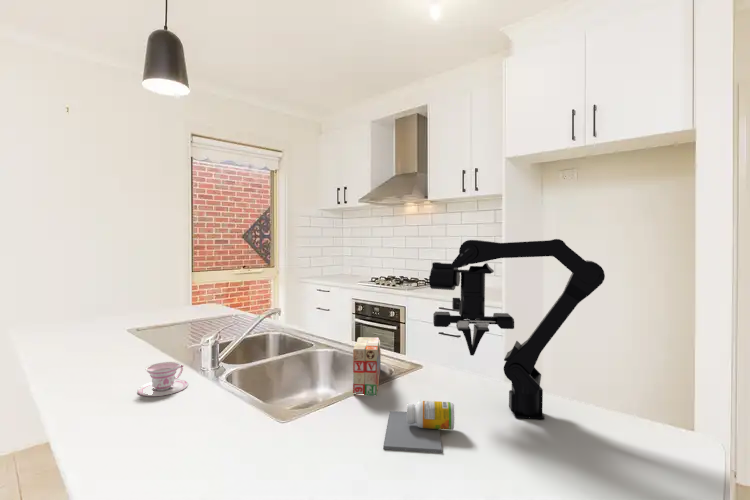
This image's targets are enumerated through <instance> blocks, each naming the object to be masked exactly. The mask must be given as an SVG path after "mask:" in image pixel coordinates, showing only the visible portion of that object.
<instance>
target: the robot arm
mask: <svg viewBox="0 0 750 500" xmlns="http://www.w3.org/2000/svg"><path fill="white" fill-rule="evenodd" d="M537 257H539V258H540V257H541V258H542V257H552V258H553V257H554V258H555V259H556V260H557V261H558V262H559V263H560V264H562V265H563V266H564V267H565V268H566V269H568V271H570V274H571V275H570V277H569V278H568V280H567V282H566V285H565V287H564V290H563V291H562V294H561V295H560V296H559V297H558V298H557V300H556V301H555V302H554V303H553V305H552V306H551V307H550V309H549V311H548V312H547V313H546V314H545V316H544V317H543V318H542V320H541V322H539V323H538V325H536V326H537V327H536V328H535V329H534V331H533V332H532V333H531V334H530V335H529V337H528V338H527V339H526V340H525V341H524V342H522V343H520V342H519V341H518V340H516V341H515V343H514V345H513V347H512V348H511V349H510V350H509V351H507V352H506V354H505V357H504V358H503V359H504V360H503V361H505V363H504V366H503V372H504V376H506V377H505V378H507V379H508V380H509V381H511V389H510V390H509V391H508V408H509V410H510V411H511V412H512V414H513V417H514V418H516V419H528V420H529V419H532V420H545V419H546V416H545V415H544V413H543V404H544V403H543V398H544V397H543V396H544V391H543V390H544V389H543V388H542V387H541V379H542V373H540V372H539V371H538V369H537V368H536V367H535V366H536V364H537V361H538V360H539V357H540V355H541V353H542V351H543V350H544V349H545V348H546V346H547V345H548V343H549V342H550V341H551V340H552V338H553V337H554V336H555V334H557V332H558V331H559V329H560V328H561V327H562V325H563V324H564V323H565V321H566V320H567V319H568V318H569V316H570V315H571V313H572V312H573V311H574V310H575V308H577V306H578V304H580V303H581V302H582V301H583V300H584V299H586V298H588V297H589V296H590V295H591V294H592V293H593V292H594V291H596V290H597V289H598V288H599V287H600V286H601V285H603V283H604V281H605V278H606V276H605V274H606V273H605V271H604V269H603V267H602V266H601V265H600V264H598V263H597V262H595V261H593V260H585V259H584V258H583V257H582V256H580V255H579V254H578V253H577V252H575V251H574V250H573V249H572V248H570V247H569V246H568V245H567V244H566V242H565V241H563V239H560V238H555V239H554V238H553V239H550V240H549V239H548V240H533V241H532V240H531V241H530V240H529V241H515V242H513V241H512V242H497V241H489V240H488V241H487V240H481V239H480V240H478V239H467V240H465V241H463V243H462V244H460V247H459V250H458V255H457V256H456V257H455V259H454V260H453V261H452V262H451V263H450V262H449V263H448V262H445V263H444V262H437V261H434V262H432V263H431V268H430V273H429V276H428V277H429V278H428V282H429V287H430V289H432V290H443V291H444V290H447V291H455V290H456V287H459V286H460V297H452V306H451V307H452V311H453V312H458V314H459V315H452V314H451V313H450V312H449V311H435V312H434V313H433V327H436V328H448V327H449V326H451V324H456V329H457V331H459V332H462V334H463V336H464V339H465V341H466V345H467V348H468V352H469V355H470V356H474V355H475V354H476V351H477V349H478V347H479V344H480V341H481V340H482V338H483V336H484V335H485V333H489V332H490V328H489V326H490V325H497V326H498V327H499V328H500V329H502V330H505V329H506V330H514V329H515V318H513V316H511V315H510V314H509V313H508V312H506V313H505V312H504V313H503V312H494V313H493V315H492V316H489V315H487V316H485V313H486V312H485V311H486V310H485V309H486V308H485V307H486V305H485V304H486V303H485V302H486V292H485V291H486V274H488V275H491V274H494V269H492V268H491V266H490V265H489V264H488V263H487V262H488V261H493V260H498V259H510V258H511V259H512V258H537ZM484 262H485V263H484ZM480 263H484V264H483V265H473V264H480ZM469 265H470V266H469ZM467 266H469V267H468V268H469V269H460V268H464V267H467ZM470 324H473V334H472V330H471V328H470Z"/></svg>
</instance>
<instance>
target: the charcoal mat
mask: <svg viewBox="0 0 750 500" xmlns="http://www.w3.org/2000/svg"><path fill="white" fill-rule="evenodd" d="M440 430H441V429H429V428H419V427H418V425H417V423H414V424H407V411H401V410H400V411H399V410H397V411H396V410H389V413H388V417H387V424H386V429H385V435H384V440H383V445H382V447H383V450H393V451H406V450H407V451H408V452H409V451H410V452H422V451H425V453H441V454H442V452H443V451H442V440H441V432H440ZM407 451H406V452H407Z"/></svg>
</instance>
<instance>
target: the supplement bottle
mask: <svg viewBox="0 0 750 500" xmlns="http://www.w3.org/2000/svg"><path fill="white" fill-rule="evenodd" d="M406 412H407V424H414V423H417V425H418V427H419V428H429V429H440V430H447V431H450V430H455V405H454V402H452V401H435V400H419V401H417V404H415V403H407V404H406Z"/></svg>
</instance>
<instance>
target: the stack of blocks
mask: <svg viewBox="0 0 750 500" xmlns="http://www.w3.org/2000/svg"><path fill="white" fill-rule="evenodd" d="M352 350H353V352H352V357H353V358H352V361H353V362H352V370H353V371H352V372H353V373H352V374H353V377H352V378H353V379H352V394H353V393H356V394H364V395H363V396H374V395H376V396H377V395H378V391H379V385H380V384H379V383H380V375H381V366H382V365H381V357H382V355H381V354H382V353H381V352H382V351H381V340H380V338H379V337H371V336H369V337H361V336H360V337H357V339H356V343H355V345H353V349H352ZM378 384H379V385H378Z"/></svg>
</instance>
